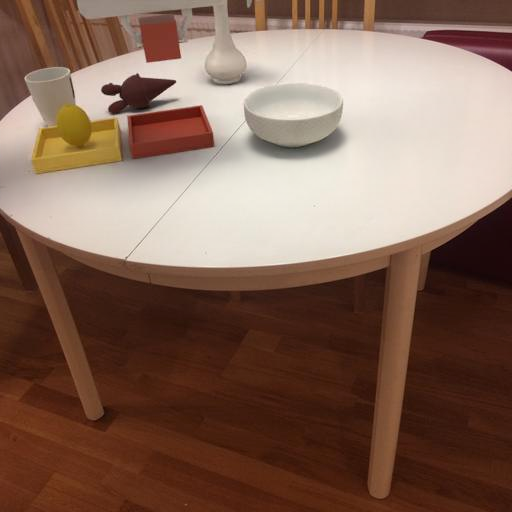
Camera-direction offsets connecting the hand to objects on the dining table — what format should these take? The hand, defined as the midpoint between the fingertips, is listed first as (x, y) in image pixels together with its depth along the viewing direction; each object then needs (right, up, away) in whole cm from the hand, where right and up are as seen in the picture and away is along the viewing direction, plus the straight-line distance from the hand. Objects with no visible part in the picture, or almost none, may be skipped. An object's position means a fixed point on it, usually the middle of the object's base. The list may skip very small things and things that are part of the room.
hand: (160, 44), depth 76 cm
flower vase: (+8, +9, +42) cm, 44 cm away
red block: (0, -1, +1) cm, 2 cm away
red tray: (-2, -9, +19) cm, 21 cm away
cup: (-24, -5, +27) cm, 36 cm away
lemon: (-17, -12, +17) cm, 27 cm away
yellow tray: (-17, -12, +17) cm, 27 cm away
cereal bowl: (+20, -10, +16) cm, 28 cm away
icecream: (-9, 0, +32) cm, 34 cm away
